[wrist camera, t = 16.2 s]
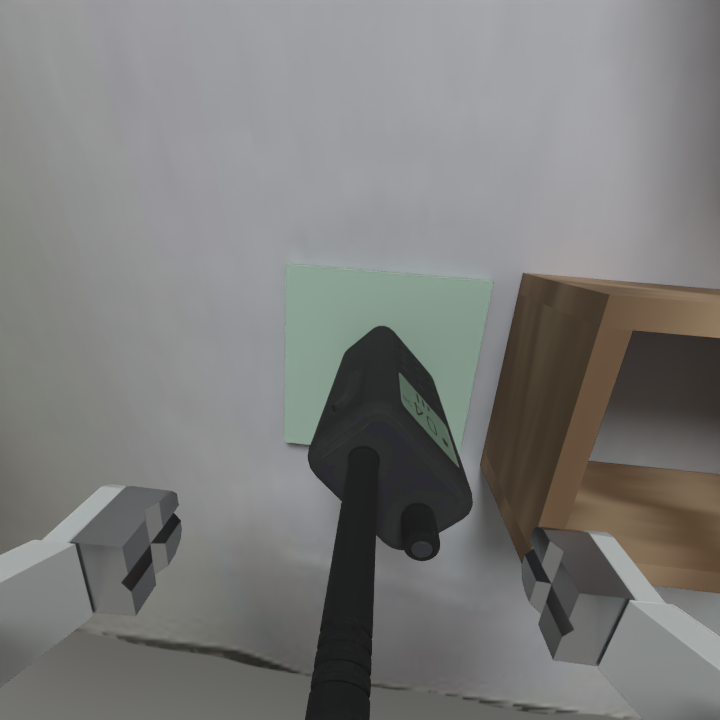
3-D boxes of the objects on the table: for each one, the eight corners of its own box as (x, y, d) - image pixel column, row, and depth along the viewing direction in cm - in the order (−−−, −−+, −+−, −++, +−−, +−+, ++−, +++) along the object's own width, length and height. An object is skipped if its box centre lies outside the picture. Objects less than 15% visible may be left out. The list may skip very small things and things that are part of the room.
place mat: (287, 436, 21) (284, 442, 20) (289, 263, 18) (286, 264, 17) (456, 454, 21) (458, 460, 20) (489, 281, 17) (493, 282, 17)
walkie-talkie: (439, 384, 19) (608, 845, 4) (389, 419, 19) (398, 899, 5) (380, 315, 18) (360, 624, 3) (331, 355, 19) (153, 734, 4)
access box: (480, 464, 21) (524, 570, 14) (523, 273, 17) (609, 294, 10) (745, 492, 20) (921, 617, 13) (848, 300, 16) (1158, 341, 10)
